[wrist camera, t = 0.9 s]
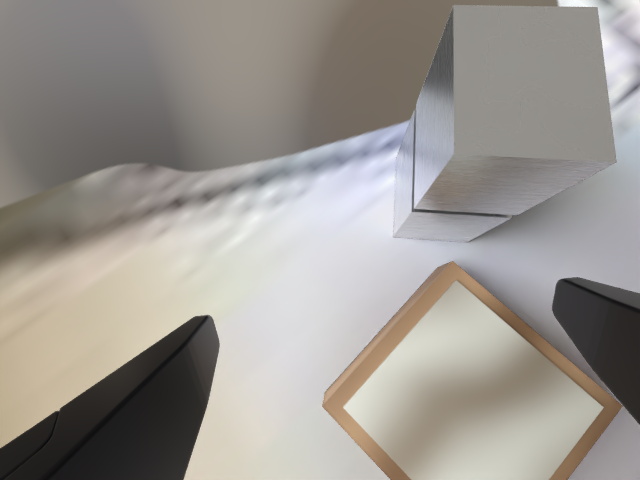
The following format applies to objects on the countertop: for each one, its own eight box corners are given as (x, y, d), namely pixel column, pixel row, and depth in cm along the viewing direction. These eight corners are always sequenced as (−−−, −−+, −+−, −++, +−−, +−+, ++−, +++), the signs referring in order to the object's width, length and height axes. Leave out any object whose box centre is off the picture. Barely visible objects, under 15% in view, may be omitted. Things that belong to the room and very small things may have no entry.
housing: (466, 242, 22) (616, 162, 10) (393, 237, 22) (453, 153, 10) (465, 161, 23) (597, 7, 11) (396, 158, 23) (453, 5, 12)
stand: (579, 391, 19) (626, 407, 16) (464, 539, 18) (490, 588, 15) (437, 267, 21) (454, 260, 18) (324, 392, 20) (322, 407, 17)
